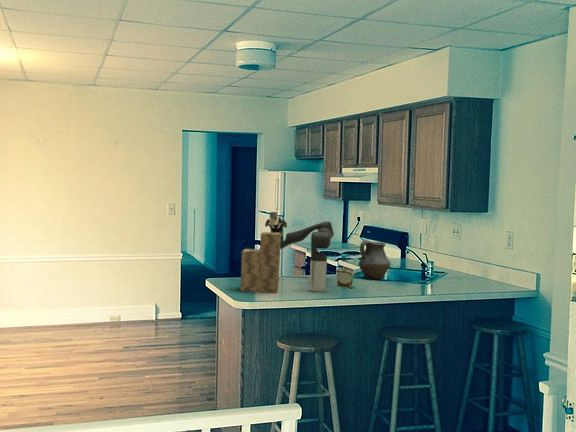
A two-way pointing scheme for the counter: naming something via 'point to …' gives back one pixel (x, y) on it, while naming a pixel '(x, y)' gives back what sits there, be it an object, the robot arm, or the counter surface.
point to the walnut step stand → (262, 265)
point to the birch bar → (274, 218)
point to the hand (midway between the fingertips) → (275, 218)
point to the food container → (344, 277)
